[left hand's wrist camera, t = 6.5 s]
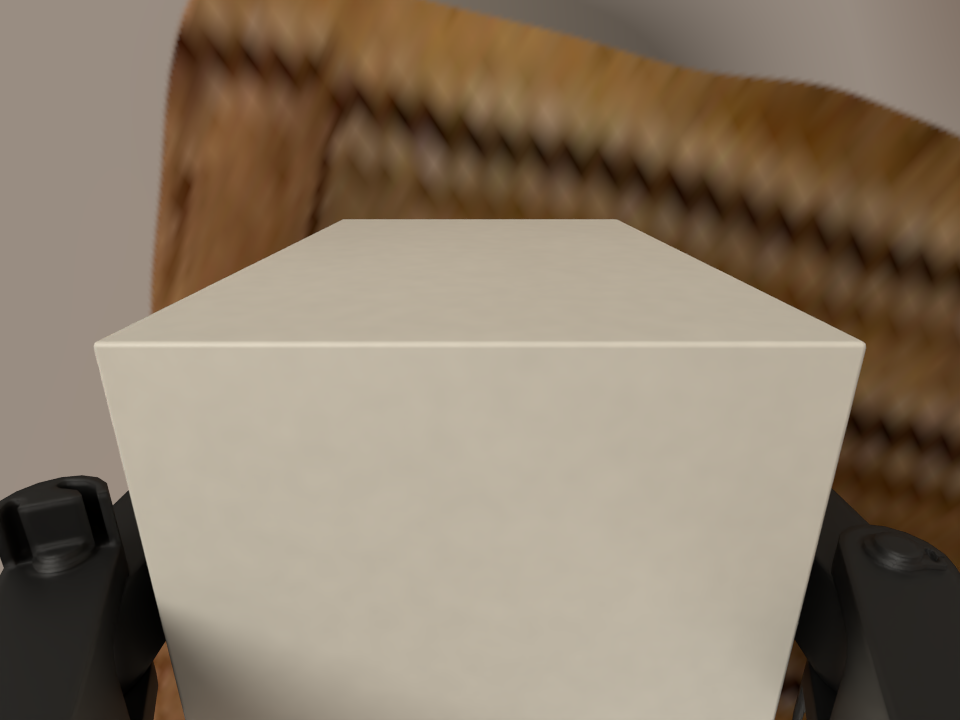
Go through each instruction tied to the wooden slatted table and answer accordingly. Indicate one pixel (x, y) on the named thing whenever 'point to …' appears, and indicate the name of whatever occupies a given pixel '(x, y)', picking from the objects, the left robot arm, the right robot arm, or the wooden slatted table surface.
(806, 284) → the wooden slatted table surface
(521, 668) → the brick
